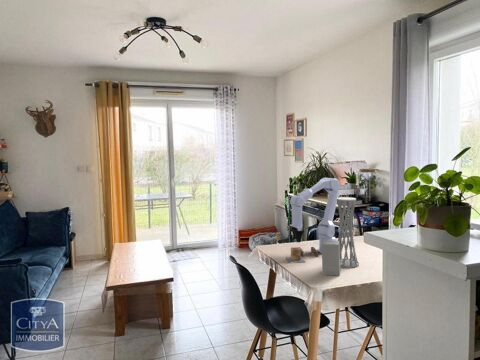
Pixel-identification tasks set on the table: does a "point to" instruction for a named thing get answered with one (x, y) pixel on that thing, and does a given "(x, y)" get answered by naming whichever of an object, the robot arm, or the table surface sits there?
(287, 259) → the slate mat
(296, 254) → the oak block
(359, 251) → the table surface
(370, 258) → the table surface
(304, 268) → the table surface
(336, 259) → the skincare box
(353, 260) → the vase
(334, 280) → the table surface
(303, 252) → the shelf slot
